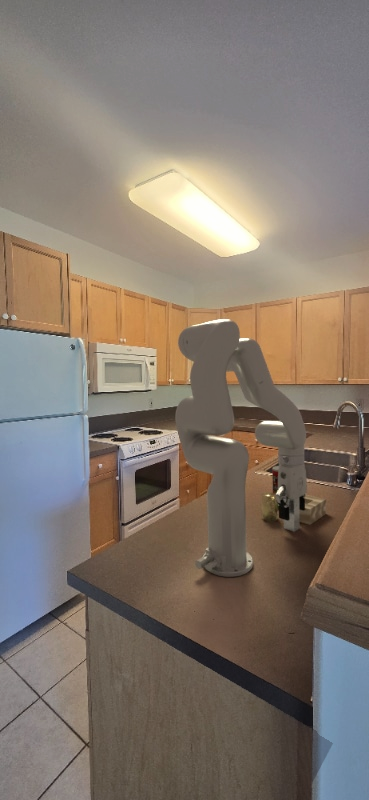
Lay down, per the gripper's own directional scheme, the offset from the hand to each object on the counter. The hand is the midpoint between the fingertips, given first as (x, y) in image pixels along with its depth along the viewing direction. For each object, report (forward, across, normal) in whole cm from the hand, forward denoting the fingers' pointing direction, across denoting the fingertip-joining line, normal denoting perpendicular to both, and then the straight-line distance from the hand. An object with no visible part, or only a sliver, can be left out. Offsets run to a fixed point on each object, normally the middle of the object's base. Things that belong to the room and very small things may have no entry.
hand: (292, 514), depth 102 cm
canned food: (+5, +24, +17) cm, 30 cm away
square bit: (+4, 0, 0) cm, 4 cm away
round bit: (+4, +2, +9) cm, 10 cm away
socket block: (+4, +12, +2) cm, 13 cm away
